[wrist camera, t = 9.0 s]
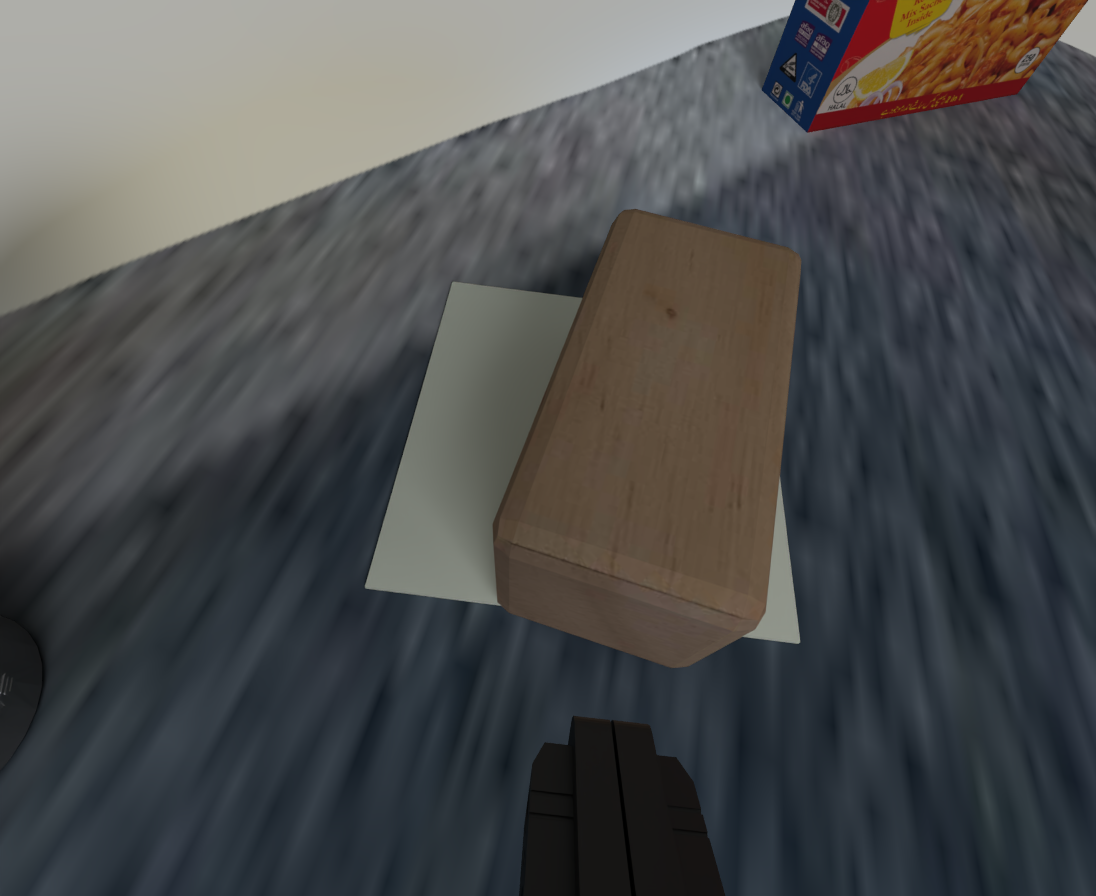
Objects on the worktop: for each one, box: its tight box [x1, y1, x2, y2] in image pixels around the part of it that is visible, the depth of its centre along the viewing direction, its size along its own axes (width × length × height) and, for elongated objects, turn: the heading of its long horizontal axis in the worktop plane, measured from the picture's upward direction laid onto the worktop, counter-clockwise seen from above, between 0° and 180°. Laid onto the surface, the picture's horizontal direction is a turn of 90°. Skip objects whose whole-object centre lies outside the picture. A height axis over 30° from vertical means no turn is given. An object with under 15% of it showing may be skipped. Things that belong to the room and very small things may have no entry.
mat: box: [365, 282, 800, 644], centre depth 33 cm, size 22×22×1 cm
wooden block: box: [493, 209, 801, 668], centre depth 27 cm, size 10×10×20 cm
